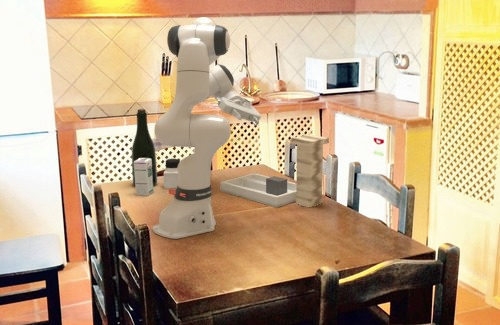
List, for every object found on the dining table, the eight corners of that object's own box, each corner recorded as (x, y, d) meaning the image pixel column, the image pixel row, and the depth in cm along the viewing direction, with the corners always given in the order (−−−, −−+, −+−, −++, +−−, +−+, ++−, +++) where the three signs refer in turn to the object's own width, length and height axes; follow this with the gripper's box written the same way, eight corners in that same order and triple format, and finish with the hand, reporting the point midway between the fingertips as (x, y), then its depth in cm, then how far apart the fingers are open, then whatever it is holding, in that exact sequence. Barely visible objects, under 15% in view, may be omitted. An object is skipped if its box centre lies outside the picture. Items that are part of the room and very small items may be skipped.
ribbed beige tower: (310, 209, 228) (311, 141, 222) (290, 204, 235) (291, 138, 229) (327, 203, 235) (328, 137, 229) (307, 198, 242) (308, 134, 236)
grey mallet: (279, 196, 242) (279, 181, 241) (241, 186, 256) (241, 172, 255) (287, 193, 246) (287, 179, 244) (249, 184, 260) (249, 170, 258)
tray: (276, 207, 231) (276, 197, 230) (220, 191, 253) (220, 181, 252) (310, 196, 245) (310, 186, 244) (254, 181, 267) (254, 173, 266)
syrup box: (148, 195, 248) (147, 161, 244) (135, 195, 249) (133, 160, 245) (153, 192, 253) (152, 158, 250) (140, 191, 254) (138, 157, 251)
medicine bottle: (180, 188, 258) (179, 161, 255) (164, 188, 258) (162, 161, 255) (183, 184, 265) (182, 157, 262) (166, 184, 265) (165, 157, 262)
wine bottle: (158, 186, 260) (155, 110, 253) (134, 188, 258) (129, 111, 250) (155, 180, 270) (152, 107, 263) (132, 182, 268) (127, 108, 260)
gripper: (218, 89, 244) (234, 108, 235) (253, 102, 258) (269, 120, 249) (210, 102, 246) (225, 121, 237) (245, 114, 260) (261, 133, 251)
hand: (248, 121), depth 243 cm, fingers open, 8 cm apart
